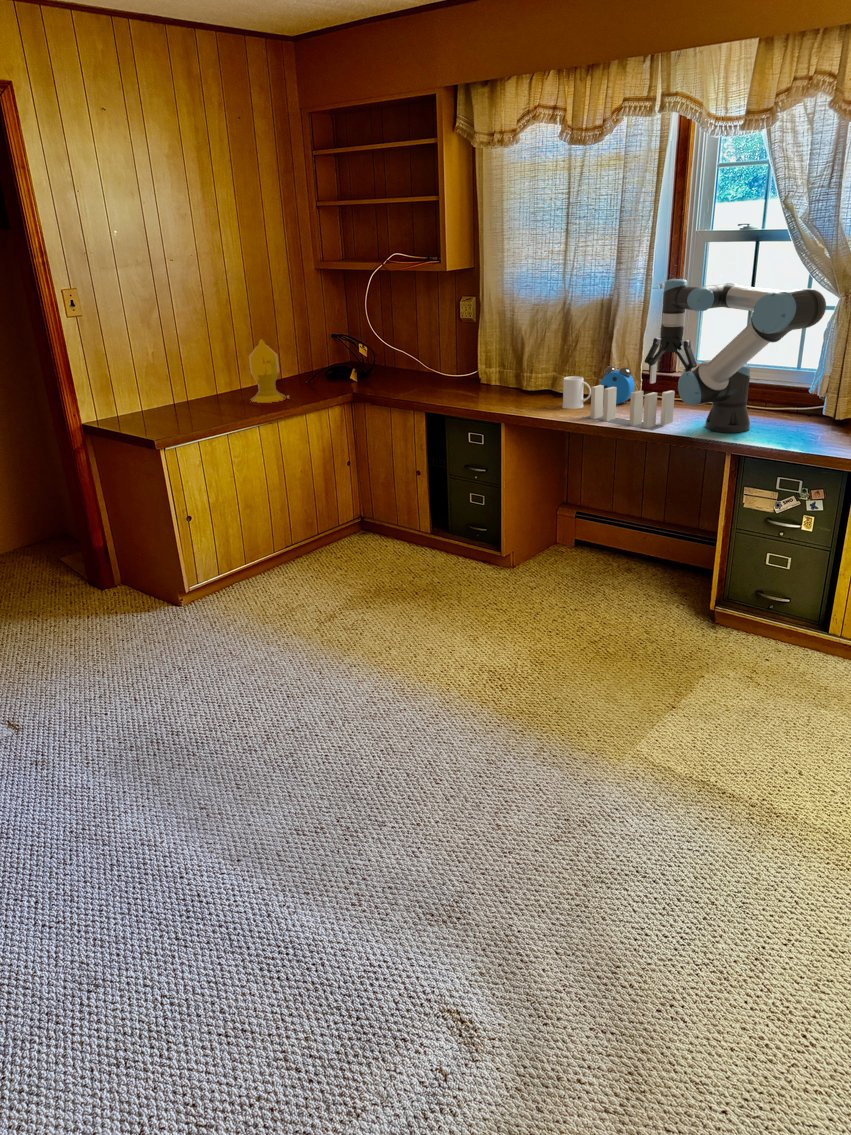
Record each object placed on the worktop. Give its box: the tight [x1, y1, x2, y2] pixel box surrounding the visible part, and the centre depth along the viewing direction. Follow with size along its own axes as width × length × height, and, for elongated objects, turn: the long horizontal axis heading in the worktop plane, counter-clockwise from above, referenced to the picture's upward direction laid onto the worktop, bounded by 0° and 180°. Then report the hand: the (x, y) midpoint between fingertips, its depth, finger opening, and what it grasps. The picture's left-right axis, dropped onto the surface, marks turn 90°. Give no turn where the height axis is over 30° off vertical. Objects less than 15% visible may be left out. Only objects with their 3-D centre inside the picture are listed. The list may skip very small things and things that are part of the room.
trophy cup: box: [248, 338, 290, 403], centre depth 378 cm, size 18×24×28 cm
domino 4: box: [642, 391, 658, 428], centre depth 305 cm, size 2×5×12 cm, turn 132°
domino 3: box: [629, 389, 644, 426], centre depth 309 cm, size 2×5×12 cm, turn 131°
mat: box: [582, 414, 665, 431], centre depth 316 cm, size 32×8×1 cm, turn 41°
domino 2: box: [603, 387, 617, 421], centre depth 318 cm, size 2×5×12 cm, turn 131°
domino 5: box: [659, 390, 676, 426], centre depth 309 cm, size 2×5×12 cm, turn 131°
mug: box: [562, 375, 591, 410], centre depth 341 cm, size 12×8×12 cm
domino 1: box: [590, 384, 604, 419], centre depth 322 cm, size 2×5×12 cm, turn 132°
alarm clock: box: [599, 365, 636, 405], centre depth 344 cm, size 13×6×15 cm, turn 55°
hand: (668, 385), depth 306 cm, fingers open, 13 cm apart
